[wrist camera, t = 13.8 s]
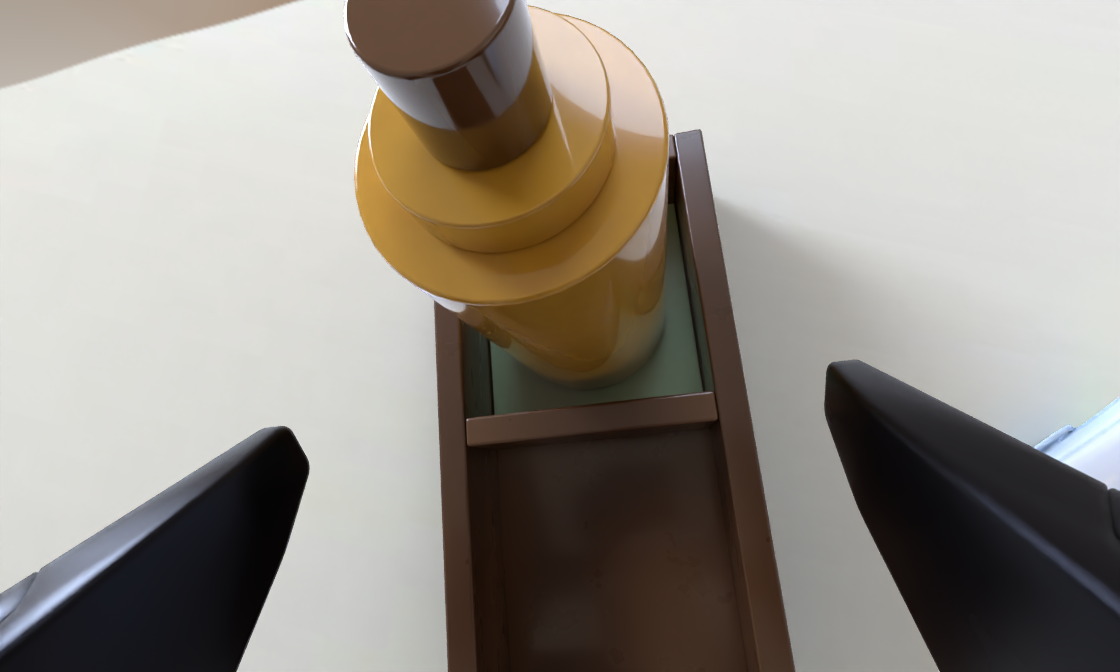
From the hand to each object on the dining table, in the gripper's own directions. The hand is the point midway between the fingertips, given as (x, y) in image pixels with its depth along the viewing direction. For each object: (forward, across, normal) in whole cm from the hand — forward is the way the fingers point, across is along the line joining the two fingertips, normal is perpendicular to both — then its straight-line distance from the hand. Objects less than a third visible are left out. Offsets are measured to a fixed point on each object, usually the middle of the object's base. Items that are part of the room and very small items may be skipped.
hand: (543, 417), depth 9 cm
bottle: (+9, 0, +3) cm, 10 cm away
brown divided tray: (+7, 0, +6) cm, 9 cm away
